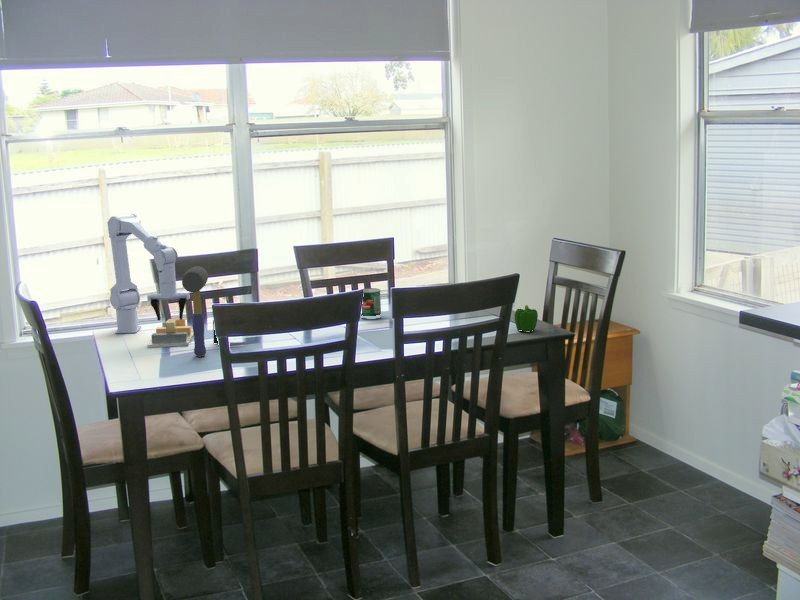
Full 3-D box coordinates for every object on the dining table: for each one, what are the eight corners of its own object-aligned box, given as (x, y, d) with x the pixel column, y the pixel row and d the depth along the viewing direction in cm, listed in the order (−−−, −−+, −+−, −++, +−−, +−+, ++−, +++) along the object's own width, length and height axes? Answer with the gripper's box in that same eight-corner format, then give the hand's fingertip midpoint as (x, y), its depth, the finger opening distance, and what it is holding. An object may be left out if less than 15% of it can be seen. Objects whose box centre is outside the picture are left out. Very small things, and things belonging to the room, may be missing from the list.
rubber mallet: (209, 360, 304) (203, 270, 298) (186, 361, 304) (179, 271, 298) (214, 351, 317) (208, 264, 311) (192, 351, 316) (186, 265, 310)
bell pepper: (517, 328, 340) (517, 301, 338) (539, 329, 337) (539, 302, 335) (511, 333, 332) (511, 306, 330) (534, 334, 329) (534, 307, 327)
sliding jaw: (161, 328, 346) (160, 319, 345) (193, 327, 347) (193, 317, 346) (156, 335, 336) (155, 325, 335) (190, 334, 337) (189, 324, 336)
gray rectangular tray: (158, 331, 347) (158, 322, 346) (196, 330, 348) (196, 320, 347) (147, 347, 323) (146, 337, 323) (188, 345, 324) (187, 336, 324)
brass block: (168, 336, 334) (167, 320, 333) (176, 336, 334) (175, 320, 333) (166, 339, 330) (165, 323, 329) (175, 339, 331) (173, 322, 329)
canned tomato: (383, 315, 365) (382, 288, 363) (378, 320, 358) (378, 292, 355) (363, 315, 367) (362, 287, 364) (358, 319, 359) (357, 291, 357)
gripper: (144, 284, 324) (147, 322, 327) (186, 283, 325) (189, 321, 328) (148, 281, 331) (151, 318, 333) (189, 279, 332) (191, 316, 335)
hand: (170, 319), depth 331 cm, fingers open, 7 cm apart
